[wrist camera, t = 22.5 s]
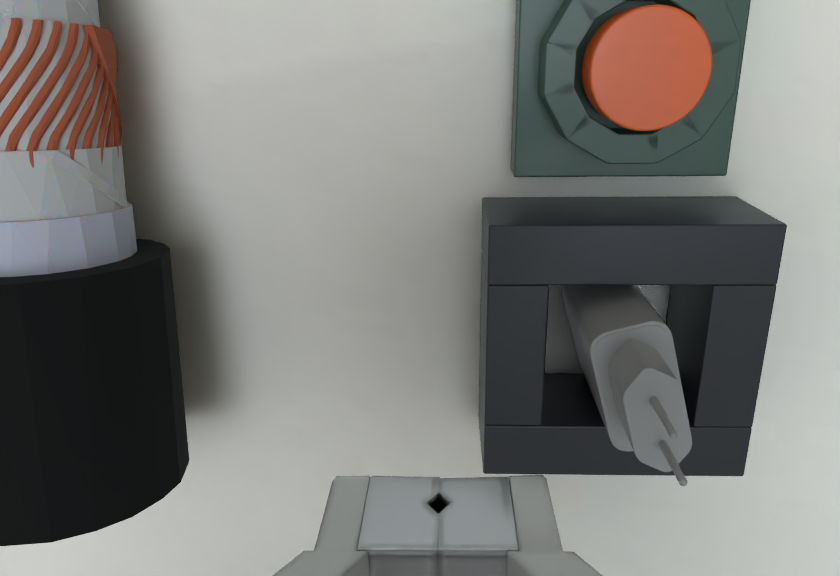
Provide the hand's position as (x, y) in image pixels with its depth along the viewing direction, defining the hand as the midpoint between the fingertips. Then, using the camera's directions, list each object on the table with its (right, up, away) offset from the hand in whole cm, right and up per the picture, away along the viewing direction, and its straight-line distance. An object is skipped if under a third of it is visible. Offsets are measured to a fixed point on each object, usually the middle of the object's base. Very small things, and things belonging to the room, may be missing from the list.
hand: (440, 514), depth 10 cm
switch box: (+8, +13, +20) cm, 25 cm away
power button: (+8, +12, +17) cm, 22 cm away
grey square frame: (+8, +2, +24) cm, 25 cm away
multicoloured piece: (-16, +12, +21) cm, 29 cm away
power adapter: (+9, +2, +24) cm, 25 cm away
